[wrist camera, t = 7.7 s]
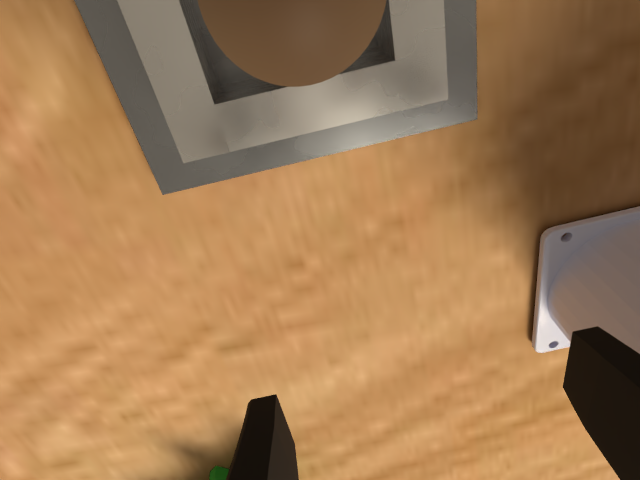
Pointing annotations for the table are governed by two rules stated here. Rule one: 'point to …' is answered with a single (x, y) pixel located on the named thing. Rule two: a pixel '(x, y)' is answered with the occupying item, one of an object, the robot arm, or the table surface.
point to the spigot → (292, 36)
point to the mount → (278, 88)
